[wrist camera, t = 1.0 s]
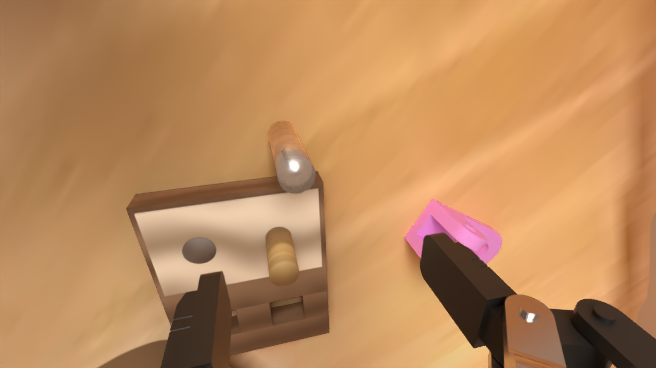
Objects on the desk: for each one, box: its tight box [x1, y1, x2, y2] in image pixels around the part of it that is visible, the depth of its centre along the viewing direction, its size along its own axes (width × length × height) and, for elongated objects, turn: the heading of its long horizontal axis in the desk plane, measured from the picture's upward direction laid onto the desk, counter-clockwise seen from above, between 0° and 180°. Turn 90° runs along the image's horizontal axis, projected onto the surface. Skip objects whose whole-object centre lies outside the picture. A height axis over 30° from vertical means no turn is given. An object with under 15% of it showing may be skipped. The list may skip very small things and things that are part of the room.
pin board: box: [126, 171, 329, 356], centre depth 30 cm, size 20×16×8 cm
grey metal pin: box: [268, 121, 316, 194], centre depth 24 cm, size 2×2×9 cm
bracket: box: [405, 199, 502, 264], centre depth 35 cm, size 13×6×7 cm, turn 59°
